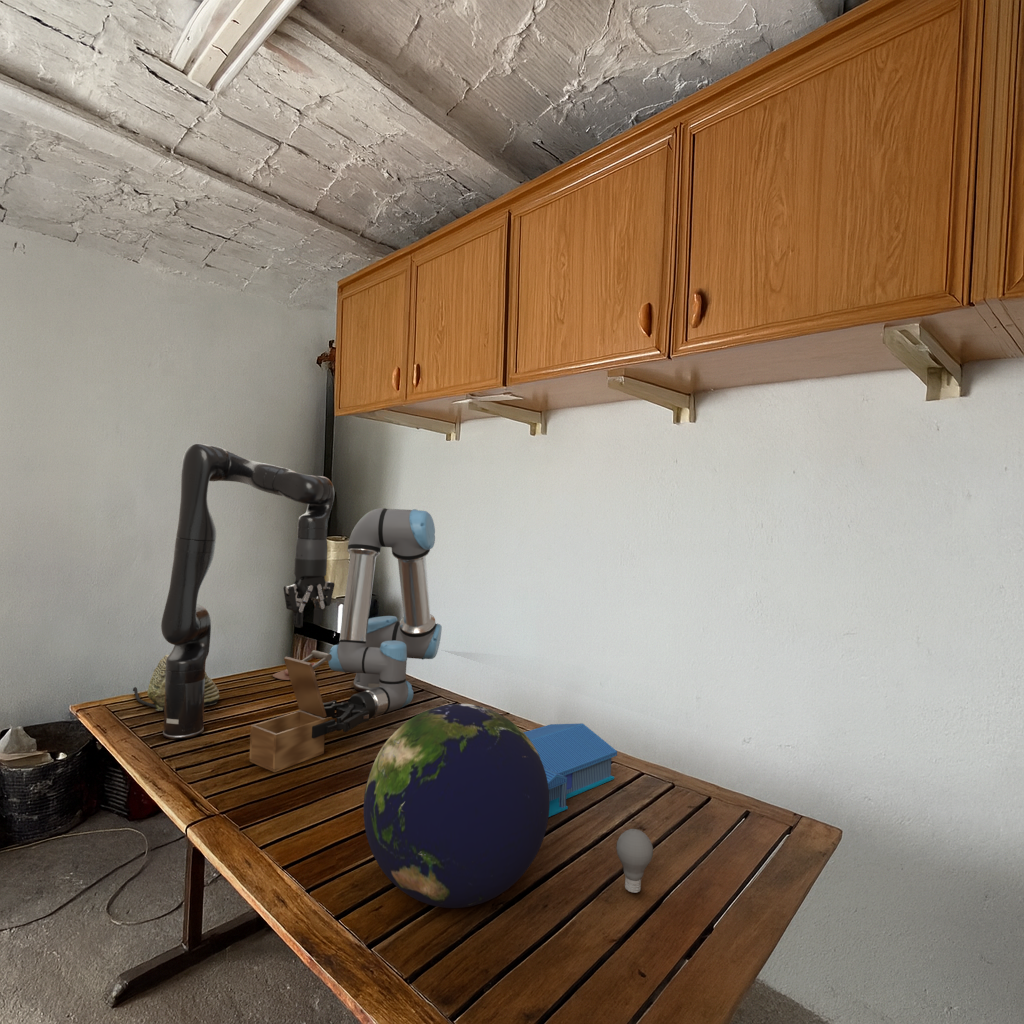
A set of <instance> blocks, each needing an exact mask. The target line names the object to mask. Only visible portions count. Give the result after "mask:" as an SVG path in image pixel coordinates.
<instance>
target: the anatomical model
mask: <svg viewBox="0 0 1024 1024" xmlns="http://www.w3.org/2000/svg"><path fill="white" fill-rule="evenodd" d="M311 663H312V666H313V665H314V664H316V663H317V662H311ZM313 670H314V673H315V674H316V671H315V669H313ZM272 677H273V678H275V679H277V680H281V681H282V680H283V681H291V680H290V677H289V674H288V671H287V668H286V669H284V670H281V671H278V672H275V673H274V674H272Z"/></svg>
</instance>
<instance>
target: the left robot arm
mask: <svg viewBox="0 0 1024 1024" xmlns="http://www.w3.org/2000/svg"><path fill="white" fill-rule="evenodd" d="M180 473H181V474H180V475H181V477H180V478H181V479H180V480H181V481H180V489H181V490H180V504H179V505H180V506H179V514H178V522H177V528H176V529H177V530H176V534H175V536H176V537H175V540H174V541H175V542H174V549H173V550H174V551H173V562H172V567H171V575H170V582H169V589H168V594H167V596H166V597H167V598H166V600H165V601H166V602H165V605H164V609H163V613H162V618H161V622H160V629H161V630H160V631H161V634H162V636H163V639H165V641H166V642H167V643H169V644H171V645H173V648H172V650H171V652H170V653H169V654H168V655H169V656H168V657H167V659H166V674H165V705H164V708H163V710H162V711H163V731H162V737H164V738H166V739H169V740H185V739H190V738H191V739H192V738H194V737H197V736H199V735H202V734H203V732H204V730H205V729H204V726H205V725H204V722H205V721H204V718H205V706H204V693H205V672H206V664H207V663H206V662H207V658H208V655H209V653H210V647H211V633H212V619H211V616H210V613H209V611H208V610H207V608H206V607H204V606H203V605H200V604H198V597H199V591H200V589H201V586H202V584H203V582H204V580H205V578H206V575H207V573H208V572H209V570H210V567H211V565H212V562H213V559H214V555H215V549H216V541H217V529H216V525H215V522H214V519H213V517H212V514H211V511H210V508H209V504H208V491H209V485H210V482H235V483H241V484H245V485H247V486H250V487H252V488H255V489H256V490H258V491H261V492H264V493H268V494H271V495H276V496H279V497H284V498H287V499H289V500H291V501H293V502H297V503H298V504H299V503H300V504H303V505H307V507H306V511H305V513H303V514H301V515H299V517H298V518H297V526H296V527H297V529H296V543H295V549H294V570H293V571H294V572H293V574H294V576H295V580H294V582H293V584H290V585H284V586H283V594H284V600H285V608H286V610H289V611H292V612H293V618H292V619H293V621H292V623H293V625H294V628H299V629H300V628H303V627H304V625H303V624H304V609H305V606H306V604H307V603H308V601H309V599H311V601H312V603H313V606H314V608H313V625H322V622H323V620H324V609H325V608H326V607H330V606H331V602H332V599H333V594H334V589H335V583H334V582H332V581H327V580H326V579H325V576H326V575H327V566H328V522H329V518H330V515H331V511H332V508H333V505H334V501H335V488H334V484H333V483H332V481H331V480H330V479H329V478H328V477H326V476H321V475H311V474H305V473H299V472H296V471H295V470H292V469H290V468H286V467H282V466H278V465H274V464H271V463H264V462H259V461H255V460H252V459H247V458H245V457H243V456H240V455H238V454H236V453H233V452H231V451H229V450H227V449H225V448H223V447H221V446H217V445H211V444H205V443H193V444H190V445H189V446H188V447H187V448H186V450H185V452H184V453H183V456H182V461H181V471H180ZM132 692H134V696H135V700H136V701H137V702H138V703H139V704H142V705H144V706H148V707H150V708H152V709H156V706H155V703H151V702H148V701H145V700H143V699H141V698H140V695H139V693H138V692H139V691H138V687H136V686H135V687H133V689H132Z"/></svg>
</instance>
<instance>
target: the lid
mask: <svg viewBox="0 0 1024 1024" xmlns="http://www.w3.org/2000/svg"><path fill="white" fill-rule="evenodd" d="M313 658H314V659H318V660H319V661H317V662H315V663H316V664H314V665H313V666H312V663H313V662H309V660H311V659H313ZM331 659H332V655H331V654H329V652H323V651H319V650H314V649H313V650H312V651H311V652H310V654H309V655H307V656H306V657H305V658H303V659H298V658H294V657H290V656H284V657H283V660H284V661H283V662H284V663H285V667H286V669H287V671H288V674H289V677H290V680H289V681H290V683H291V687H292V690H293V694H294V697H295V700H296V703H297V706H298V710H299V711H302V710H303V711H306V712H309V713H312V714H315V715H318V716H320V717H323V718H324V719H326V718H327V717H326V716H327V715H326V712H325V708H324V705H323V703H324V702H323V697H322V694H321V691H320V688H319V684H318V680H317V677H316V672H315V669H316V668H318V667H319V666H321V665H322V664H324V663H325V662H328V661H330V660H331ZM313 669H314V670H313ZM314 672H315V673H314Z"/></svg>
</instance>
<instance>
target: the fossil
mask: <svg viewBox="0 0 1024 1024" xmlns="http://www.w3.org/2000/svg"><path fill="white" fill-rule="evenodd" d="M169 655H170V654H165V655H164V656H163V657H162V658H161V659H160V660H159V662H158V663H157V666H156V667H155V669H154V670H153V672H152V675H151V677H150V680H149V684H148V688H147V697H148V699H149V700H150V701H152V703H153V704H154V705H155V706H156V708H155V711H158V712H159V711H162V712H163V711H164V710H163V708H164V705H165V674H166V659H167V657H168V656H169ZM220 698H221V696H220V690H219V688H218V686H217V685H216V683H215V682H214V681H213V679H212V678H211V677H209V675H208V674H207V672H206V671H205V693H204V707H207V706H213V705H215V704H217V703H218V701H219V699H220Z"/></svg>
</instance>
